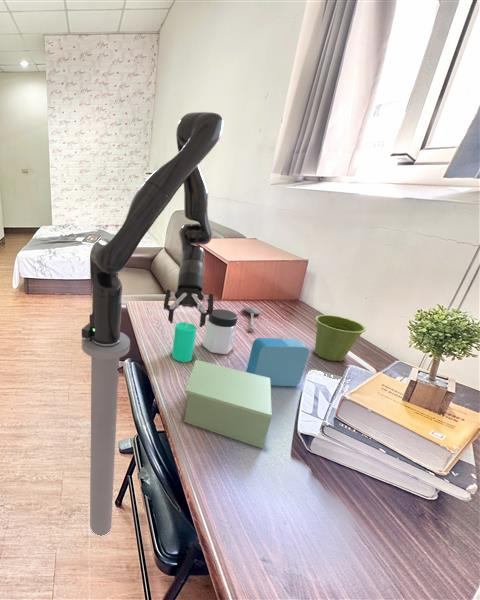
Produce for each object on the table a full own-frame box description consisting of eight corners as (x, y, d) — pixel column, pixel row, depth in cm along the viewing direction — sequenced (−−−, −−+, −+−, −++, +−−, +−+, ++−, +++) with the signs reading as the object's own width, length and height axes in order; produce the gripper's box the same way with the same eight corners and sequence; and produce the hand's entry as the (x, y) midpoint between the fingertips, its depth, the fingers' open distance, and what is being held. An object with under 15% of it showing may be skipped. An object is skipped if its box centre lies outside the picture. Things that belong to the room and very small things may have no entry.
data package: (289, 376, 86) (300, 338, 81) (299, 387, 81) (311, 347, 77) (245, 375, 86) (253, 337, 82) (252, 385, 82) (261, 345, 78)
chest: (184, 422, 70) (188, 394, 67) (194, 388, 81) (198, 363, 78) (262, 448, 63) (271, 418, 60) (262, 407, 74) (269, 381, 71)
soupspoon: (260, 313, 127) (242, 311, 130) (261, 305, 126) (243, 303, 129) (260, 333, 109) (239, 330, 112) (262, 325, 108) (241, 321, 111)
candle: (189, 364, 92) (194, 328, 87) (169, 358, 95) (173, 323, 90) (194, 354, 96) (199, 320, 92) (174, 349, 99) (179, 315, 95)
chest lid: (184, 392, 68) (185, 389, 67) (195, 362, 79) (195, 359, 78) (271, 418, 60) (271, 415, 60) (269, 380, 71) (270, 378, 71)
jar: (224, 357, 95) (231, 322, 90) (199, 348, 100) (204, 314, 96) (235, 347, 101) (242, 313, 96) (210, 338, 106) (216, 306, 102)
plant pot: (359, 370, 88) (373, 335, 84) (309, 360, 93) (320, 327, 89) (346, 350, 98) (358, 318, 94) (302, 343, 103) (311, 312, 99)
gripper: (168, 269, 97) (161, 317, 91) (216, 273, 93) (213, 323, 87) (167, 280, 104) (161, 325, 98) (213, 284, 100) (209, 331, 94)
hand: (186, 324), depth 93 cm, fingers open, 8 cm apart
